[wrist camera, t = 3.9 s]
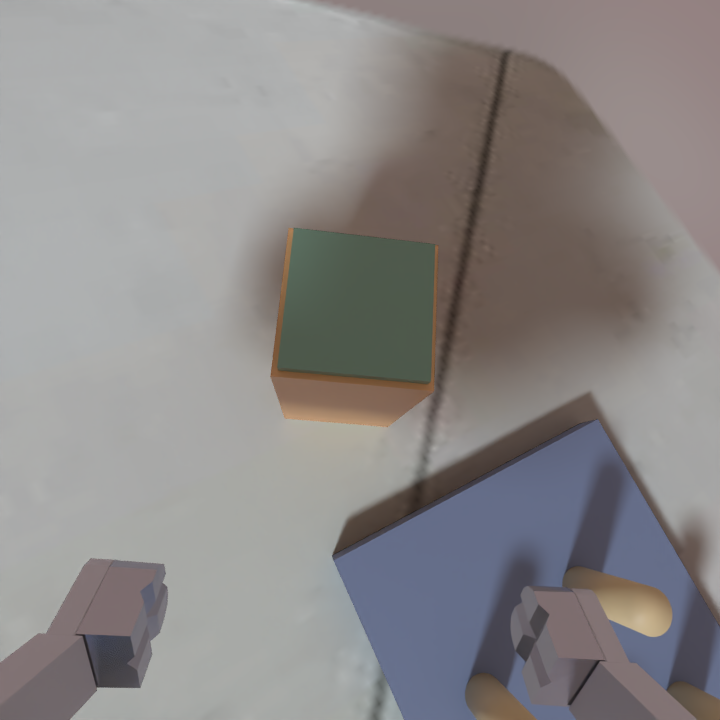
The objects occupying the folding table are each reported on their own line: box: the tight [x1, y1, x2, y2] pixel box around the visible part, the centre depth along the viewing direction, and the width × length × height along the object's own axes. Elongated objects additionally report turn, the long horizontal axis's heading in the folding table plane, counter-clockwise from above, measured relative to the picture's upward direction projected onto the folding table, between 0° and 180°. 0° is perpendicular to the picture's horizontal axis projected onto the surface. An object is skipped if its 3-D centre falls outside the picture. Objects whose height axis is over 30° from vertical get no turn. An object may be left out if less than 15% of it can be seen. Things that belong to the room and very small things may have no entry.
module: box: [271, 228, 438, 427], centre depth 19 cm, size 5×5×9 cm
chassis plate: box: [332, 419, 720, 720], centre depth 18 cm, size 19×14×6 cm
